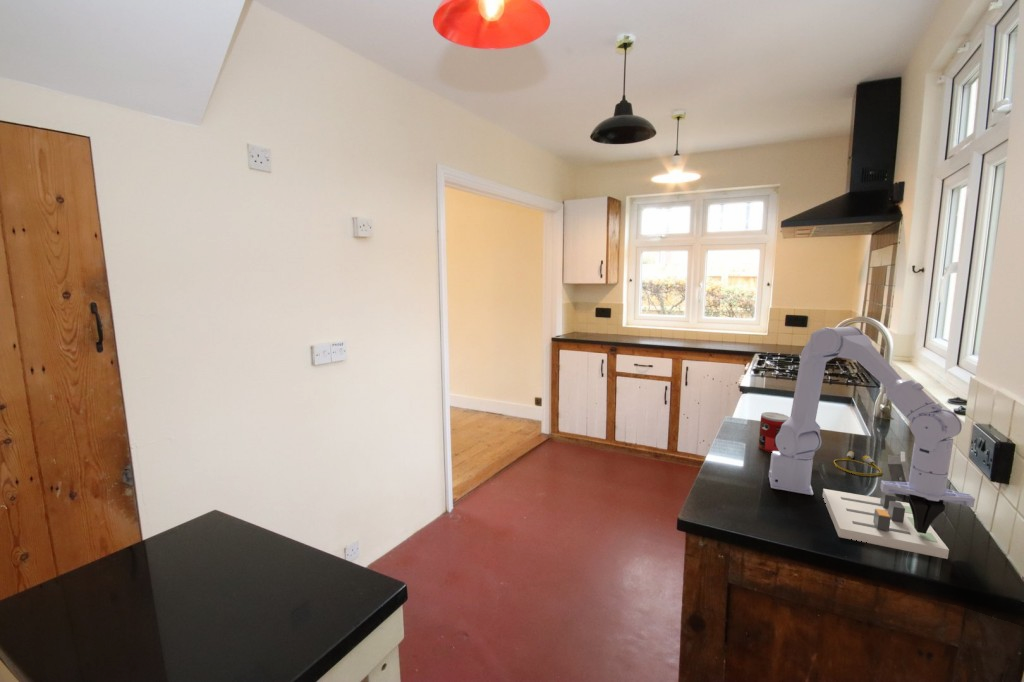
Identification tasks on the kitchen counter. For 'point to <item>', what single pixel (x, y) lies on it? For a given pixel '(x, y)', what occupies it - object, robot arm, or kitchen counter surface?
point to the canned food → (770, 430)
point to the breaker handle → (881, 519)
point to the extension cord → (865, 458)
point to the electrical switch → (899, 467)
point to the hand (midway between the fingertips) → (919, 530)
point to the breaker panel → (857, 524)
